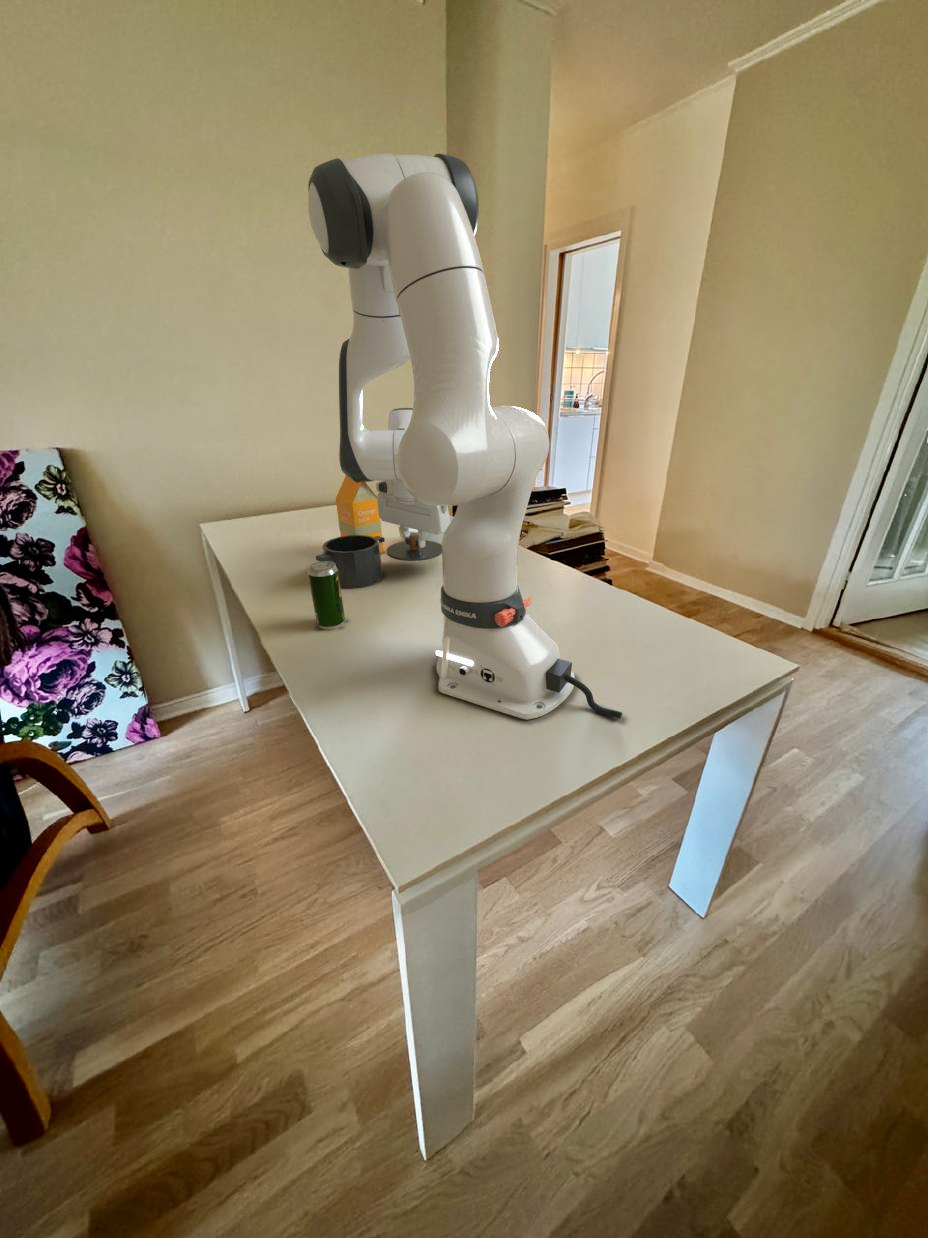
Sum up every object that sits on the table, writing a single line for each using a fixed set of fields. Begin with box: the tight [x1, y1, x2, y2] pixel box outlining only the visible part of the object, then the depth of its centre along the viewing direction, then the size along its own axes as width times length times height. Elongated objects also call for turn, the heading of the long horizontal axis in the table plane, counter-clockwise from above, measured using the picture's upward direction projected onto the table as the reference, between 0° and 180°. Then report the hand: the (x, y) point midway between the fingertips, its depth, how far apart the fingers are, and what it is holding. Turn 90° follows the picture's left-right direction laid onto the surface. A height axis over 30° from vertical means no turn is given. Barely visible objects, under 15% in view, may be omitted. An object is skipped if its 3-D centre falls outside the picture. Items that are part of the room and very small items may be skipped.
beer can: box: [307, 561, 346, 631], centre depth 90 cm, size 5×5×12 cm
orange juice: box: [335, 475, 384, 554], centre depth 126 cm, size 8×9×20 cm
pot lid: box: [385, 533, 442, 562], centre depth 114 cm, size 14×14×5 cm
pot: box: [315, 535, 386, 589], centre depth 112 cm, size 13×18×8 cm
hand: (414, 545), depth 114 cm, fingers closed on pot lid, 2 cm apart
